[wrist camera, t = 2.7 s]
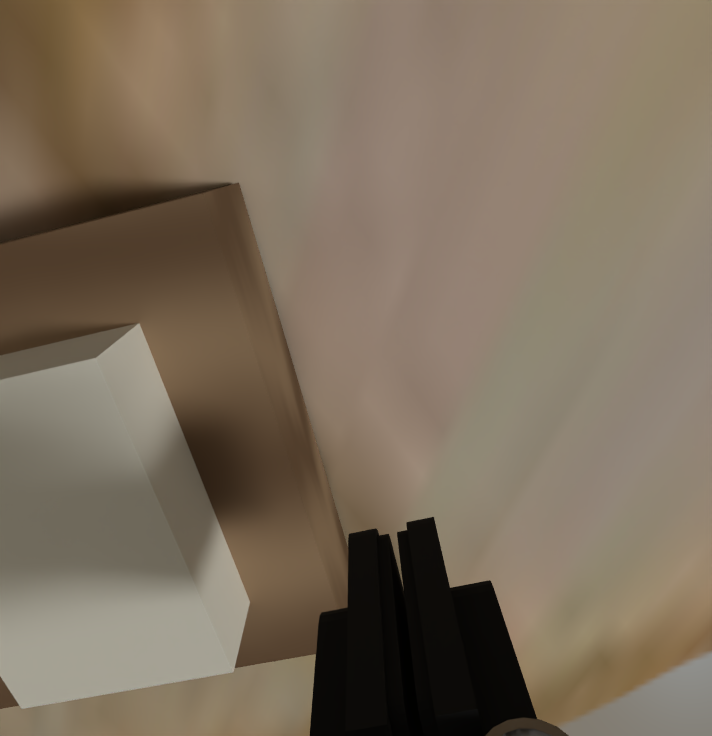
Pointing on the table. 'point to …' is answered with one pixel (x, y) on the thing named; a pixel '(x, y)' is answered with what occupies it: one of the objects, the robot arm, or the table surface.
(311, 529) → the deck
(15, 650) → the white rectangular block
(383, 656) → the robot arm
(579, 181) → the table surface
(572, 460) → the table surface
